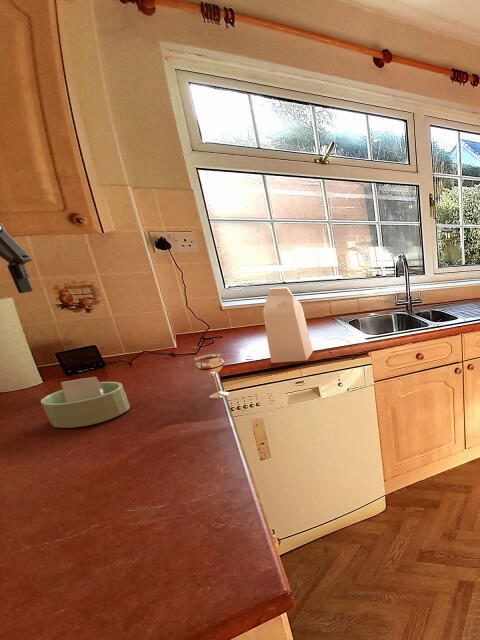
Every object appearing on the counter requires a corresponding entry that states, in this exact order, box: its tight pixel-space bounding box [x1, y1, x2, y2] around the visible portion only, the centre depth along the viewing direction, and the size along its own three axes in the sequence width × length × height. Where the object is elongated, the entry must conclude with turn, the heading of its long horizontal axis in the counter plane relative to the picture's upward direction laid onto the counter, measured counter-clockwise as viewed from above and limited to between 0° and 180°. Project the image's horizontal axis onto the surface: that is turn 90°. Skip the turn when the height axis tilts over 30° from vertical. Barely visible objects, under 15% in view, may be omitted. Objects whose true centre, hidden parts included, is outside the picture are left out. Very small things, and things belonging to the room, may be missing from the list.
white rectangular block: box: [60, 376, 105, 403], centre depth 112 cm, size 4×7×10 cm, turn 126°
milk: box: [262, 287, 314, 364], centre depth 156 cm, size 12×12×26 cm
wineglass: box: [193, 352, 229, 399], centre depth 125 cm, size 7×7×12 cm
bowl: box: [40, 381, 131, 429], centre depth 113 cm, size 16×16×7 cm
